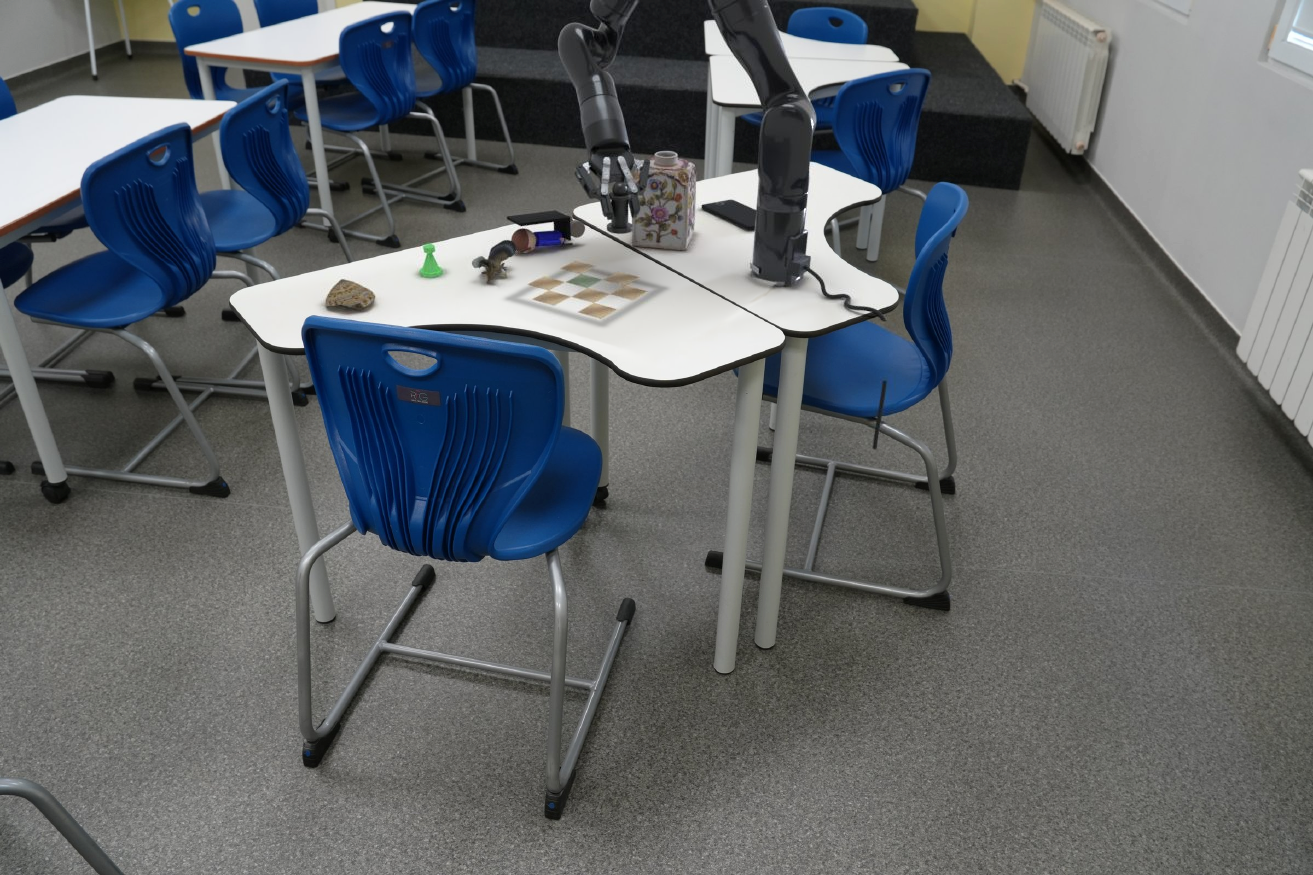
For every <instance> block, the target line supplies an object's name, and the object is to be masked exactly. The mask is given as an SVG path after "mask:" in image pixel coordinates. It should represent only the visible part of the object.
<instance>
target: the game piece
mask: <svg viewBox="0 0 1313 875" xmlns="http://www.w3.org/2000/svg"><path fill="white" fill-rule="evenodd" d="M422 249H423V253H425V254H426V256H425V259H424V262H423V265H422V267H421V268H419V274H420V276H421V277H424V278H428V279H430V278H437V277H440V276H442V275H443V274H444V271H443V268H442V267H441V266H439V264H438V262H437V260H436V258H435V255H434V253H435V252H436V246H435V244H433V243H430V242H428V243H426V244H424V245H422Z"/></svg>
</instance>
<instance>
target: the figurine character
mask: <svg viewBox="0 0 1313 875" xmlns="http://www.w3.org/2000/svg"><path fill="white" fill-rule="evenodd" d="M506 220H507V221H509V222H511V223H513V224H515V225H517V226H519V227H525V228H518V229H517V230H515V231H514V232H513V234H512V235H511V238H510V241H511V240H512V242H514V243H515V246H516V247H517V248H516V252H518V253H520V254H528V253H530V252H532V251H533V250H534V249H535V247H536V248H542V247H553V246H561V247H567V246H573V245H574V243H573V242H570V241H572V237H573V238H574V239H575V238H576V239H577V238H581V237H582V236H583V235H585V234H584V233H585V231H586V225H585V223H584V222H582V221H581V220H578V219H573V217H572V216H570V215H569V214H566V213H562V212H560V211H558V210H556V209H554V210H548V211H539V212H531V213H523V214H514V215H507V216H506ZM549 223H553V230H540V231H532V230H530V229H528V228H526V227H527V226H536V225H543V224H549ZM567 241H569V242H567Z"/></svg>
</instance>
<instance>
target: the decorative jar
mask: <svg viewBox="0 0 1313 875" xmlns="http://www.w3.org/2000/svg"><path fill="white" fill-rule="evenodd" d="M647 159H648V160H650V168H649V174H648V181H647V187H646V189H645V191H644V194H643V195H639V196H638V199H639V203H640V212H639V214H638V215H637V217H636V218H632V217H631V224H632V225H633V231H632V232H631V245H632V247H638V248H639V247H640V248H650V249H651V248H653V249H663V250H676V251H686V250H687V248H688V246H689V244H690V241H691V239H692V237H693V235H694V233H695V223H696V222H695V221H696V204H697V203H696V202H697V201H696V200H697V198H696V197H697V174H698V172H697V168H696V166H695V164H694V163H692V162H691V161H688V160H686V159H683V158H679V156H678V153H677V152H675V151H670V150H662V151H657V152H655V153H654V156H653V157H649V158H647ZM640 160H641V161H644V160H645V159H640ZM632 176H633V181H634V183H635V185H636V186H638V182H639V176H640V174H638V173H637V171H636V169H635V170H634V174H633V175H632Z"/></svg>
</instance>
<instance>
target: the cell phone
mask: <svg viewBox="0 0 1313 875" xmlns="http://www.w3.org/2000/svg"><path fill="white" fill-rule="evenodd" d="M701 209H702V210H704V211H707V212H709V213H711V214H713V215H714V216H717V217H719V218H722V219H723V220H726V221H727V222H730V223H731V224H734V225H736V226H739V227H740V228H742V229H744V230H746V231H755V220H756V208H752V207H750V206H748V205H746V204H744V203H743V202H742V203H741V202H739V201H737V200H734V199H726V200H720V201H715V202H709V203H703V204H701Z"/></svg>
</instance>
